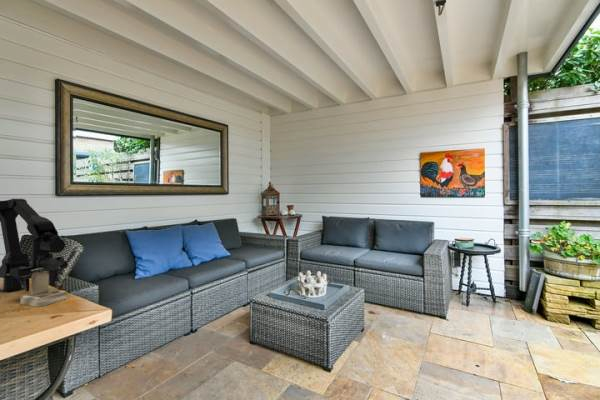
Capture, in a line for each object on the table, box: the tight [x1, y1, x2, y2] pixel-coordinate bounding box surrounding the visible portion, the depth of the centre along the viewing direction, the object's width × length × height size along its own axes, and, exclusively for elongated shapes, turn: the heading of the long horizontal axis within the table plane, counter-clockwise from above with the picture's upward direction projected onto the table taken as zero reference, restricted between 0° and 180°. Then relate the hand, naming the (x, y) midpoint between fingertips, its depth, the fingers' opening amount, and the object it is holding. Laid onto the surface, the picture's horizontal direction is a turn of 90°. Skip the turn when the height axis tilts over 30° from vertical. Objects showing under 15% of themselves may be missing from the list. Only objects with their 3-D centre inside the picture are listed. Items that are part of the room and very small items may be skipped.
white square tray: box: [20, 288, 68, 308], centre depth 118 cm, size 10×10×3 cm
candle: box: [30, 270, 50, 294], centre depth 125 cm, size 6×6×10 cm
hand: (40, 288), depth 125 cm, fingers open, 9 cm apart
